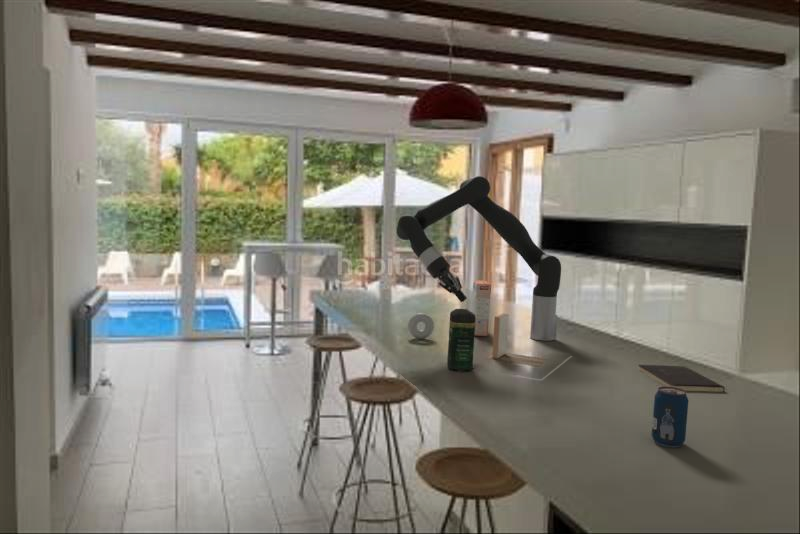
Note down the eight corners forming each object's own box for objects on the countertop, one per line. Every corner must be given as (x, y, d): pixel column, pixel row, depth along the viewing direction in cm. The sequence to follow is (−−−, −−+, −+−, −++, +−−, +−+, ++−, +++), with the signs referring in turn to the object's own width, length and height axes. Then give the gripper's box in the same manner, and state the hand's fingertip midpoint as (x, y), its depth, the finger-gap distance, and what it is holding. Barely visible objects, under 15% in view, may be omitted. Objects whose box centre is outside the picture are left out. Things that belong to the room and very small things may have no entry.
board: (497, 353, 224) (497, 351, 224) (547, 360, 215) (548, 359, 215) (484, 359, 213) (485, 357, 213) (537, 368, 205) (538, 366, 205)
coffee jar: (474, 372, 196) (477, 312, 194) (448, 371, 196) (451, 311, 194) (470, 364, 206) (473, 307, 204) (445, 363, 206) (448, 306, 204)
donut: (432, 338, 244) (434, 312, 243) (434, 340, 241) (435, 314, 240) (406, 337, 243) (407, 311, 242) (407, 339, 240) (408, 313, 239)
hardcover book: (670, 392, 186) (671, 384, 185) (637, 371, 208) (638, 364, 208) (724, 393, 186) (725, 386, 186) (685, 373, 209) (686, 366, 209)
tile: (492, 358, 213) (494, 316, 212) (501, 353, 221) (503, 313, 220) (497, 358, 213) (500, 317, 211) (506, 353, 220) (509, 313, 219)
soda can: (675, 437, 146) (680, 386, 145) (690, 449, 139) (695, 395, 138) (645, 436, 146) (650, 385, 144) (659, 448, 139) (663, 394, 138)
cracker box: (488, 337, 251) (491, 284, 249) (473, 336, 251) (476, 283, 249) (484, 330, 265) (487, 280, 263) (470, 329, 265) (472, 279, 263)
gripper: (433, 256, 219) (464, 295, 214) (449, 254, 231) (478, 291, 226) (418, 270, 222) (449, 309, 217) (435, 267, 234) (464, 304, 229)
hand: (464, 300), depth 222 cm, fingers closed
